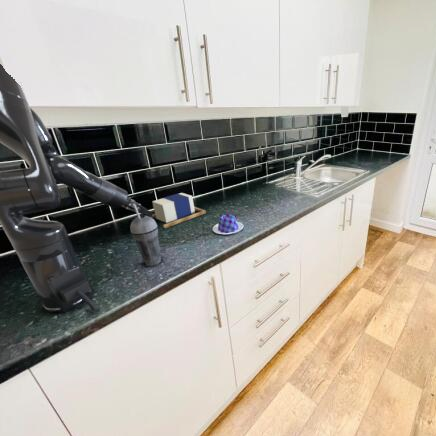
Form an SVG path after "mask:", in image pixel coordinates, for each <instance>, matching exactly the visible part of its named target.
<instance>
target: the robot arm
mask: <svg viewBox="0 0 436 436" xmlns="http://www.w3.org/2000/svg"><path fill="white" fill-rule="evenodd" d="M21 86H22V85H21ZM21 86H20V85H19V84H18V83H17V82H16V81H15V79H13V77H11V75H9V74H8V73H7V72H6V71H5V69H4V68H3V66H2V65H1V64H0V144H2V145H3V146H5V147H7V148H8V149H9V150H11V151H13V152H14V153H15V154H16V155H18V156H19V157H20V158H21V159H22V160H23V161H24V162H26V164H27V165H28V166H29V167H26V168H17V169H9V170H7V169H6V170H0V226H1V227H2V229H3V232H4V233H5V235H6V236H7V238H8V240H9V242H10V244H11V246H12V247H13V249H14V251H15V253H16V255H17V257H18V259H19V261H20V263H21V265H22V268H23V269H24V271H25V273H26V274H27V277H28V278H29V280H30V282H31V284H32V286H33V288H34V291H35V293H36V295H37V296H38V297H39V300H40V301H41V303H42V307H43V308H44V310H45V311H46V312H49V313H60V312H62V313H66V312H68V311H70V310H72V309H74V308H75V307H77V306H79V305H80V304H83V303H84V302H85V303H86V304H87V306H88V307H89V308H90V309H91V311H92V312H94V311H96V310H98V307H97V306H96V304H95V303H94V302H93V301H92V299H91V298H92V297H93V296H92V292H93V291H92V288H91V285H90V283H89V281H88V279H87V277H86V274H85V272H84V270H83V268H82V265H81V262H80V261H79V258H78V255H77V253H76V250H75V248H74V246H73V243H72V241H71V238H70V236H69V233H68V230H67V229H66V228H67V227H66V226H65V225H64V223H62V222H60V221H58V220H48V219H47V220H46V219H45V220H44V219H36V218H31V217H27V216H25V215H27V214H32V213H33V214H34V213H39V212H42V211H47V210H52V209H56V208H58V207H59V206H60V205H61V202H62V201H61V193H60V189H59V185H58V183H60V184H63V185H65V186H67V187H69V188H72V189H73V190H75V191H77V192H79V193H80V194H83V195H85V196H88V197H89V198H91V199H93V200H95V201H97V202H98V203H101V204H103V205H106V206H108V207H109V208H112V209H114V210H117V209H119V208H121V207H122V208H124V209H126V210H128V211H131V212H134V213H136V211H135V208H134V206H133V204H135V205H136V208H137V210H138V213H139V215H140V214H141V215H143V216H149V217H152V215H153V214H154V212H153V211H151V210H149V209H147V208H146V207H144V206H142V204H141V203H138V202H136V200H134V199H132V198H130V197H128V196H129V193H128V191H127V190H126V189H123V188H121V187H119V186H117V185H116V184H114V183H112V182H110V181H108V180H105V179H103V178H100V177H99V176H97V175H95V174H93V173H91V172H89V171H87V170H84V169H83V168H82V167H80V166H78V165H76V164H75V163H73V162H71V161H69V160H67V159H65V158H64V157H61V156H60V155H59V153H58V151H57V149H56V147H55V146H54V144H53V142H54V141H53V138H52V135H51V134H50V132H49V130H48V128H47V127H46V126H45V124H44V122H43V120H42V118H41V117H40V116H39V115H38V114H37V112H36V111H35V110H34V109H32V107H30V105H29V102H28V100H27V97H26V95H25V93H24V92H23V91H24V89H23V87H22V88H21ZM22 89H23V90H22ZM57 182H58V183H57Z"/></svg>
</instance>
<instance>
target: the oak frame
mask: <svg viewBox="0 0 436 436" xmlns="http://www.w3.org/2000/svg"><path fill="white" fill-rule="evenodd" d="M194 209H195V213H192V214H190V215H187V216H184V217H182V218H179V219H176V220H173V221H171V222H168V223H165V224H162V228H163V229H167V228H170V227H172V226H175V225H177V224H181V223H183V222H186V221H189V220H191V219H194V218H197V217H200V216H202V215H204V214H207V211H206V210H205V209H202V208H199V207H197V206H194ZM151 218H152V219H154V218H155V219H156V215H155V213H153V215H152V217H151Z"/></svg>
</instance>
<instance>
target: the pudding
mask: <svg viewBox="0 0 436 436" xmlns="http://www.w3.org/2000/svg"><path fill="white" fill-rule="evenodd" d="M244 226H245V225H244V223H242V222H241V221H237V219H236V217H235V215H233V214H230V213H229V214H228V213H227V214H224V215H221V216H220V217H219V219H218V222H217V224H215V225H214V226H213V227H212V232H214V233H215V234H217V235H218V234H219V235H232V234H236V233H238V232H240V231H242V230H243V228H244Z"/></svg>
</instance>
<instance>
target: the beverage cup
mask: <svg viewBox="0 0 436 436" xmlns="http://www.w3.org/2000/svg"><path fill="white" fill-rule="evenodd" d="M133 206H134V208H135V211H136V212H135V213H136V216H137V217H135V218H134V219H133V220H132V221H131V223H130V234H131V236H132V238H133V239H134V242H135V243H136V246H137V249H138V251H139V253H140V256H141V258H142V260H143V262H144V264H145V266H146V267H147V266H148V267H153V266H156V265H158V264H159V263H161V262H162V255H161V248H160V247H161V246H160V239H159V226H158V224H157V222H156V220H155V219H154V218H151V217H149V216H146V215H140V213H139V212H138V210H137V208H136V205H135V204H133Z"/></svg>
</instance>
